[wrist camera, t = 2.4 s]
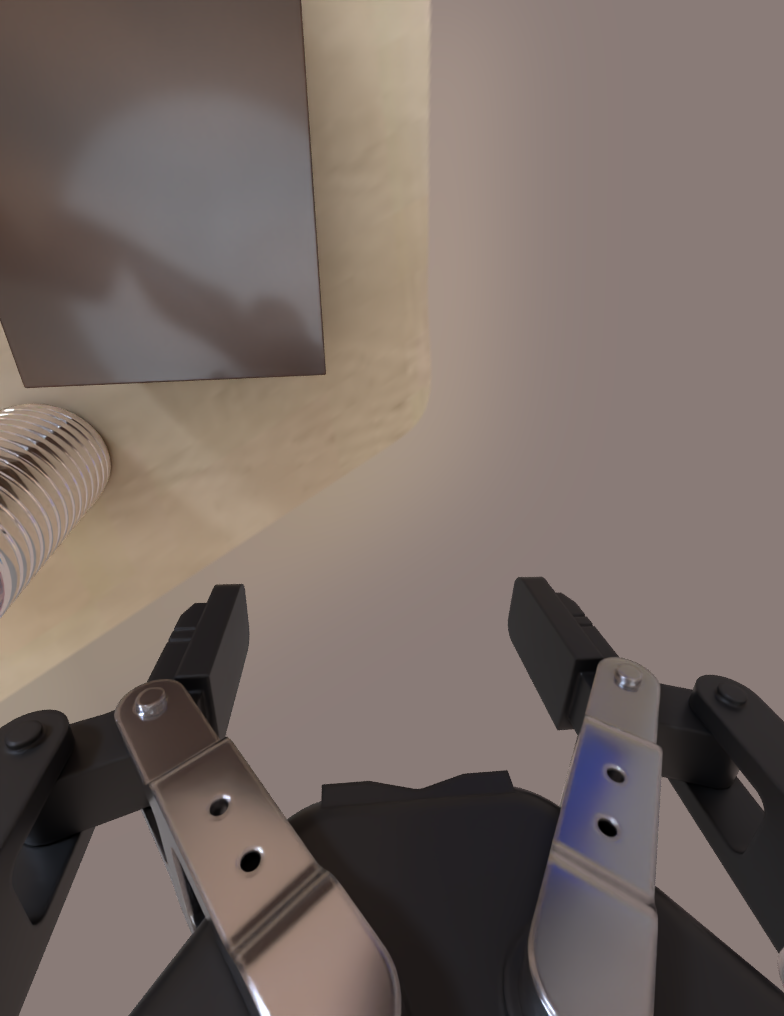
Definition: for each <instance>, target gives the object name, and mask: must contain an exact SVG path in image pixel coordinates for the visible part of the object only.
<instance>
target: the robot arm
mask: <svg viewBox="0 0 784 1016" xmlns="http://www.w3.org/2000/svg"><path fill="white" fill-rule="evenodd" d="M508 631H509V636H510V638H511V641H512V643H513V645H514V647H515V649H516V651H517V653H518V654H519V657H520V658H521V660H522V662H523V664H524V666H525V668H526V670H527V672H528V674H529V676H530V678H531V680H532V682H533V684H534V686H535V687H536V689H537V691H538V693H539V695H540V697H541V699H542V701H543V703H544V705H545V707H546V709H547V711H548V713H549V715H550V717H551V719H552V720H553V722H554V724H555V726H556V728H557V730H568V729H575V731H576V733H577V735H578V736H577V740H576V743H575V747H574V751H573V755H572V759H571V762H570V766H569V770H568V773H567V777H566V781H565V785H564V788H563V792H562V796H561V800H560V804H559V806H557V805H556V804H555V803H553V802H551V801H550V800H548V799H546V798H544V797H542V796H541V795H538V794H536V793H533V792H531V791H528V790H525V789H522V788H518V787H513V784H512V782H511V779H510V776H509V773H508V771H507V770H506V771H493V772H482V773H481V772H480V773H467V774H462V775H459V776H456V777H453V778H451V779H448V780H445V781H442V782H439V783H437V784H434V785H431V786H428V787H425V788H422V789H412V788H406V787H400V786H395V785H389V784H383V783H378V782H372V781H363V782H350V783H337V784H326V785H325V784H324V785H322V801H320V802H318V803H315V804H312V805H310V806H308V807H306V808H304V809H302V810H300V811H299V812H297V813H296V814H294V815H293V816H291V817H290V818H288V819H286V817H285V816H284V814H283V813H282V812H281V810H280V809H279V807H278V806H277V804H276V803H275V802H274V800H273V799H272V797H271V796H270V794H269V793H268V792H267V790H266V789H265V787H264V786H263V784H262V783H261V782H260V780H259V779H258V777H257V776H256V774H255V773H254V772H253V770H252V769H251V767H250V766H249V764H248V763H247V761H246V760H245V759H244V757H243V756H242V754H241V753H240V752H239V750H238V749H237V747H236V746H235V745H234V743H233V742H232V741H231V739H229V738H228V737H225V735H226V731H227V727H228V724H229V719H230V716H231V712H232V708H233V705H234V701H235V697H236V693H237V689H238V686H239V682H240V678H241V674H242V670H243V667H244V663H245V659H246V655H247V651H248V646H249V622H248V614H247V604H246V595H245V588H244V585H243V584H223V585H215V586H214V588H213V590H212V592H211V595H210V597H209V599H208V601H207V603H195V604H193V605H192V606H191V607H190V608H189V609H188V610H186V611H185V612H184V613H183V614H182V615H181V616H180V618H179V620H178V622H177V624H176V626H175V628H174V631H173V632H172V634H171V636H170V638H169V642H168V643H167V644H166V646H165V648H164V650H163V652H162V653H161V655H160V657H159V659H158V661H157V664H156V665H155V667H154V669H153V671H152V673H151V675H150V677H149V679H148V681H147V683H144V684H142V685H140V686H138V687H136V688H134V689H133V690H131V691H130V692H128V693H127V694H126V695H125V696H124V697H123V698H122V699H121V700H120V702H119V703H118V705H117V707H116V709H115V710H114V711H111V712H109V713H106V714H103V715H100V716H96V717H93V718H90V719H86V720H82V721H79V722H76V723H72V724H69V722H68V719H67V717H66V715H64V713H62V712H60V711H57V710H42V711H36V712H32V713H28V714H26V715H23V716H21V717H18V718H16V719H14V720H12V721H11V722H9V723H7V724H6V725H4V726H3V727H1V728H0V1016H19V1013H20V1011H21V1008H22V1006H23V1003H24V1001H25V998H26V996H27V993H28V991H29V988H30V986H31V984H32V981H33V979H34V976H35V974H36V971H37V969H38V966H39V964H40V961H41V959H42V957H43V954H44V952H45V949H46V947H47V944H48V942H49V939H50V936H51V934H52V932H53V929H54V927H55V925H56V922H57V920H58V917H59V915H60V912H61V910H62V907H63V905H64V902H65V900H66V897H67V895H68V893H69V890H70V888H71V885H72V883H73V880H74V878H75V875H76V873H77V870H78V868H79V866H80V863H81V861H82V858H83V856H84V853H85V851H86V848H87V846H88V843H89V841H90V839H91V836H92V834H93V831H94V829H95V826H98V825H101V824H103V823H106V822H108V821H111V820H114V819H117V818H119V817H122V816H124V815H127V814H130V813H133V812H135V811H138V810H141V811H142V813H143V816H144V818H145V821H146V823H147V825H148V827H149V830H150V832H151V834H152V837H153V839H154V841H155V844H156V846H157V848H158V851H159V853H160V855H161V858H162V860H163V862H164V865H165V867H166V869H167V872H168V874H169V876H170V879H171V881H172V884H173V887H174V889H175V893H176V896H177V898H178V901H179V904H180V907H181V909H182V912H183V914H184V917H185V920H186V922H187V924H188V927H189V929H190V931H191V933H192V935H191V936H190V938H189V939H188V940H187V941H186V943H185V944H184V945H183V947H182V948H181V949H180V950H179V952H178V953H177V954H176V956H175V957H174V958H173V959H172V961H171V962H170V963H169V964H168V966H167V967H166V968H165V970H164V971H163V972H162V973H161V975H160V976H159V977H158V979H157V980H156V981H155V982H154V984H153V985H152V986H151V988H150V989H149V990H148V992H147V993H146V994H145V995H144V996H143V998H142V999H141V1000H140V1002H139V1003H138V1005H136V1007H135V1008H134V1009H133V1011H132V1012H131V1013H130V1014H129V1016H784V993H783V992H782V991H781V990H780V989H779V988H778V987H777V986H775V985H774V984H773V983H772V982H771V981H769V980H768V979H767V978H766V977H764V976H763V975H762V974H761V973H760V972H759V971H757V970H756V969H755V968H754V967H753V966H751V965H750V964H749V963H748V962H746V961H745V960H744V959H743V958H742V957H740V956H739V955H738V954H737V953H736V952H734V951H733V950H732V949H731V948H730V947H728V946H727V945H726V944H725V943H724V942H722V941H721V940H720V939H719V938H717V937H716V936H715V935H714V934H713V933H712V932H710V931H709V930H708V929H707V928H706V927H704V926H703V925H702V924H701V923H700V922H698V921H697V920H696V919H695V918H693V917H692V916H691V915H690V914H689V913H688V912H686V911H685V910H684V909H683V908H682V907H680V906H679V905H678V904H677V903H676V902H674V901H673V900H672V899H671V898H669V897H668V896H667V895H666V894H664V892H662V891H661V890H660V889H659V888H657V887H656V886H655V877H656V859H657V842H658V825H659V824H658V823H659V807H660V790H661V777H666V778H668V779H669V781H670V783H671V784H672V786H673V787H674V789H675V791H676V792H677V794H678V795H679V797H680V798H681V800H682V802H683V803H684V805H685V806H686V808H687V809H688V811H689V813H690V814H691V816H692V817H693V819H694V820H695V822H696V824H697V825H698V827H699V828H700V830H701V832H702V833H703V835H704V836H705V838H706V840H707V841H708V843H709V844H710V846H711V847H712V849H713V850H714V852H715V854H716V855H717V857H718V858H719V860H720V862H721V863H722V865H723V866H724V868H725V869H726V871H727V873H728V874H729V876H730V877H731V879H732V880H733V882H734V884H735V885H736V887H737V888H738V890H739V892H740V893H741V895H742V896H743V898H744V899H745V901H746V902H747V904H748V906H749V907H750V909H751V910H752V912H753V914H754V915H755V917H756V918H757V920H758V921H759V923H760V925H761V926H762V928H763V929H764V931H765V933H766V934H767V936H768V937H769V939H770V940H771V942H772V944H773V945H774V947H775V948H776V950H777V951H778V953H779V956H778V971H779V975H780V978H781V981H782V984H783V987H784V722H783V720H782V719H781V718H779V716H778V715H776V714H775V712H773V710H772V709H771V708H769V706H768V705H767V704H766V703H765V702H764V701H763V700H762V699H761V698H759V696H757V695H756V694H755V693H754V692H753V691H751V690H750V689H749V688H747V687H745V686H744V685H742V684H740V683H738V682H736V681H734V680H731V679H728V678H726V677H722V676H717V675H704V676H701V677H699V678H698V679H697V681H696V683H695V686H694V688H693V690H690V689H686V688H680V687H675V686H670V685H664V684H660V683H659V682H658V680H657V678H656V677H655V676H654V675H653V674H652V673H651V672H650V671H649V670H648V669H646V668H645V667H643V666H642V665H640V664H638V663H636V662H633V661H631V660H628V659H625V658H619V656H618V655H617V654H616V653H615V651H614V650H613V649H612V648H611V646H610V645H609V644H608V643H607V641H606V640H605V639H604V638H603V636H602V635H601V634H600V633H599V631H598V630H597V629H596V628H595V626H593V625H592V623H591V621H590V620H589V619H588V618H587V617H585V614H584V613H583V611H582V610H581V609H580V607H579V606H578V605H577V604H576V603H575V602H574V601H573V600H571V599H570V598H568V597H567V596H565V595H564V594H562V593H555V591H554V590H553V589H552V587H551V586H550V585H549V584H548V582H547V581H546V580H545V579H544V578H543V577H518V578H517V579H516V580H515V583H514V588H513V594H512V600H511V605H510V611H509V618H508ZM739 770H740V771H741V772H742V773H743V774H744V776H745V777H746V778H747V779H748V781H749V782H750V783H751V785H752V786H753V787H754V788H755V789H756V791H757V792H758V794H759V796H760V798H761V799H762V802H763V806H764V811H765V812H764V811H763V810H762V808H761V807H760V806H759V804H758V803H757V802H756V801H755V799H754V798H753V797H752V796H751V794H750V793H749V792H748V791H747V789H746V788H745V787H744V785H743V784H742V783H741V782H740V780H739V779H738V778H737V774H738V772H739Z"/></svg>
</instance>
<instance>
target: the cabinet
mask: <svg viewBox="0 0 784 1016" xmlns="http://www.w3.org/2000/svg"><path fill="white" fill-rule="evenodd" d="M0 321H1V324H2V327H3V329H4V332H5V335H6V338H7V341H8V343H9V346H10V349H11V352H12V354H13V357H14V360H15V363H16V365H17V368H18V371H19V374H20V376H21V379H22V382H23V385H24V387H25V388H39V387H61V386H84V385H107V384H129V383H152V382H174V381H197V380H219V379H242V378H265V377H287V376H310V375H325V374H326V367H325V352H324V337H323V322H322V307H321V292H320V277H319V262H318V247H317V232H316V217H315V202H314V187H313V172H312V157H311V142H310V127H309V112H308V96H307V81H306V66H305V51H304V36H303V21H302V6H301V0H0Z"/></svg>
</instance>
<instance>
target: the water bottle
mask: <svg viewBox="0 0 784 1016" xmlns="http://www.w3.org/2000/svg"><path fill="white" fill-rule="evenodd" d="M110 471H111V460H110V455H109V452H108V449H107V447H106V445H105V443H104V441H103V439H102V438H101V436H100V435H99V434H98V433H97V431H96V430H95V429H94V428H93V427H92V426H91V425H90V424H88V423H87V422H86V421H85V420H83V419H82V418H80V417H79V416H77V415H75V414H73V413H71V412H69V411H67V410H64V409H62V408H58V407H55V406H51V405H45V404H21V405H16V406H11V407H8V408H5V409H2V410H0V618H1V617H2V616H3V615H4V614H5V613H6V611H7V610H8V609H9V607H10V606H11V605H12V603H13V602H14V601H15V600H16V599H17V598H18V597H19V595H20V594H21V593H22V591H23V590H24V589H25V588H26V587H27V586H28V584H29V583H30V582H31V580H32V579H33V578H34V577H35V576H36V574H37V573H38V572H39V570H40V569H41V568H42V567H43V566H44V565H45V563H46V562H47V561H48V559H49V558H50V557H51V556H52V555H53V554H54V552H55V551H56V550H57V548H58V547H59V546H60V545H61V544H62V542H63V541H64V540H65V538H66V537H67V536H68V535H69V534H70V532H71V531H72V530H73V529H74V528H75V526H76V525H77V524H78V522H79V521H80V520H81V519H82V518H83V516H84V515H85V514H86V513H87V512H88V510H89V509H90V508H91V507H92V505H93V504H94V503H95V501H96V500H97V499H98V498H99V497H100V495H101V494H102V492H103V490H104V489H105V487H106V485H107V482H108V480H109V476H110Z"/></svg>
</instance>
